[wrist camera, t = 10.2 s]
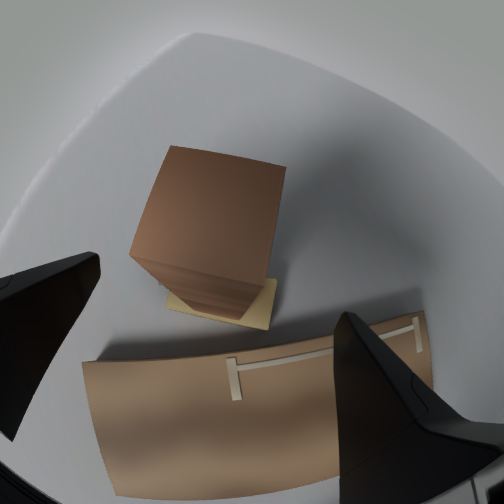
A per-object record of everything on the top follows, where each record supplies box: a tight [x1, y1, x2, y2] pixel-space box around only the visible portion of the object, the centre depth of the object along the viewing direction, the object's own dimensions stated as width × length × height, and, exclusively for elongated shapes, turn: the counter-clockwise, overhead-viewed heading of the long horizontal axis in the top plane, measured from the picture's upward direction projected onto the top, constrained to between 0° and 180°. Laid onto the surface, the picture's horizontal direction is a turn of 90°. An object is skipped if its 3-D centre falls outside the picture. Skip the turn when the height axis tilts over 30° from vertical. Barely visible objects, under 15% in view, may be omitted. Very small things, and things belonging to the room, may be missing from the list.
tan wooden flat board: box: [82, 311, 433, 500], centre depth 14 cm, size 10×22×2 cm, turn 99°
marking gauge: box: [129, 146, 286, 331], centre depth 11 cm, size 3×7×12 cm, turn 79°
